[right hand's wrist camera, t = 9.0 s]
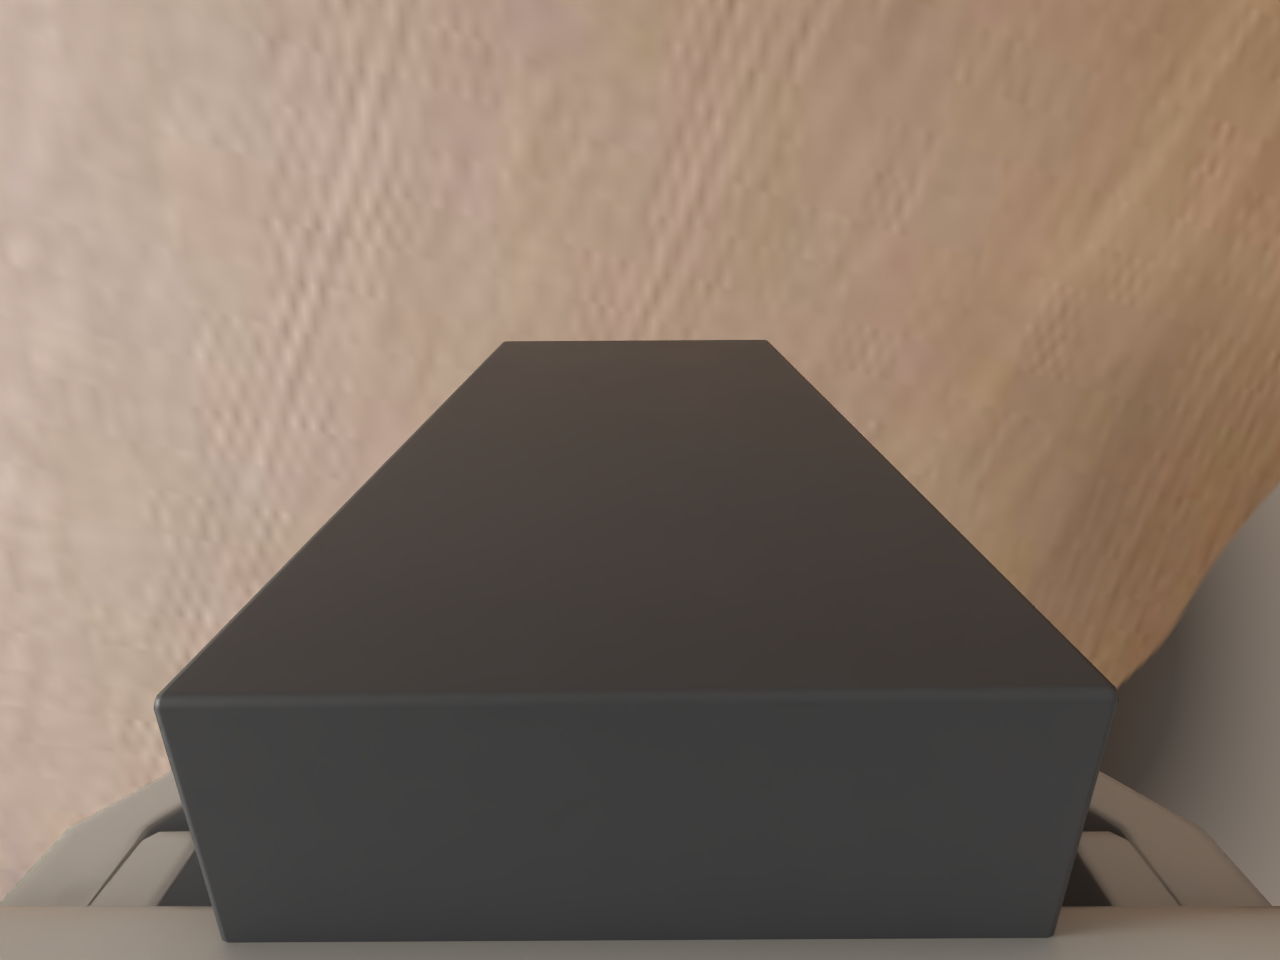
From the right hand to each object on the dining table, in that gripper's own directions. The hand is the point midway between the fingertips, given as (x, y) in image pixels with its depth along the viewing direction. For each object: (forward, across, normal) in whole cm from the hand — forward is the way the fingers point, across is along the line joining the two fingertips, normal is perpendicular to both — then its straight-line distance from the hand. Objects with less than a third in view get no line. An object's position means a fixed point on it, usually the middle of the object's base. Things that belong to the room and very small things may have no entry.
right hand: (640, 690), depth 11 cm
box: (+8, 0, -7) cm, 10 cm away
